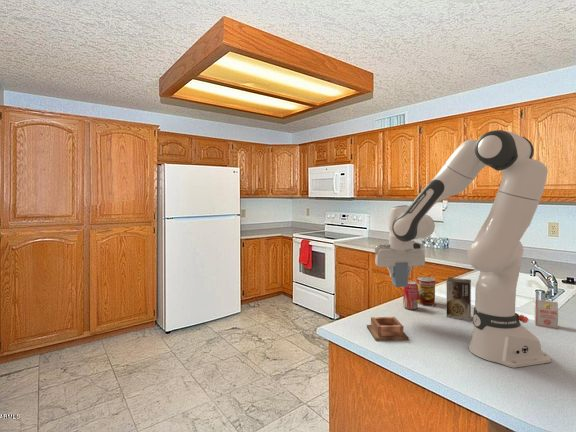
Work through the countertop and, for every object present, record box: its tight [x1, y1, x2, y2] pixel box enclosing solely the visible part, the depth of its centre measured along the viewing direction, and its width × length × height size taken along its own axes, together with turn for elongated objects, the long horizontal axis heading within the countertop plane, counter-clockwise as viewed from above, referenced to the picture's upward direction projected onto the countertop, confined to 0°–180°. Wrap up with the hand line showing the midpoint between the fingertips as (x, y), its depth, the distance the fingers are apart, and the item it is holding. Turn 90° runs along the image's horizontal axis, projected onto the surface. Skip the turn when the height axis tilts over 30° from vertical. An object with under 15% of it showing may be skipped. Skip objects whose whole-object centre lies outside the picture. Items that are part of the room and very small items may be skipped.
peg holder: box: [366, 316, 409, 341], centre depth 122 cm, size 12×12×4 cm
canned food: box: [416, 276, 436, 307], centre depth 156 cm, size 8×8×12 cm
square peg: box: [391, 263, 409, 288], centre depth 136 cm, size 5×5×10 cm
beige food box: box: [534, 299, 559, 330], centre depth 127 cm, size 4×7×10 cm, turn 59°
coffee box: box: [445, 276, 472, 322], centre depth 138 cm, size 9×6×16 cm
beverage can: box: [402, 280, 419, 310], centre depth 150 cm, size 6×6×12 cm
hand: (399, 276), depth 136 cm, fingers closed on square peg, 5 cm apart
